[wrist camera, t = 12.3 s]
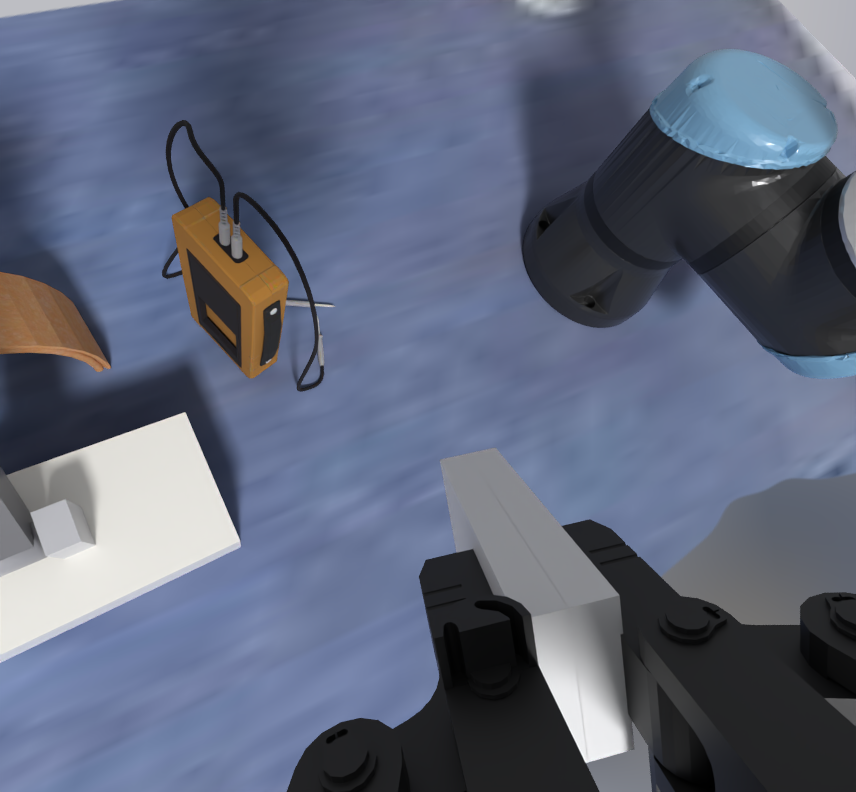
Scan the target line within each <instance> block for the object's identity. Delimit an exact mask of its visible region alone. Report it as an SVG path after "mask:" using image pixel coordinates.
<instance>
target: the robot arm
mask: <svg viewBox="0 0 856 792" xmlns="http://www.w3.org/2000/svg"><path fill="white" fill-rule="evenodd" d="M826 105H827V102H826V100H825V99H824V98H823V97H822V96H821V95H820V93H819V92H818V91H817V90H816V89H815V88H814V87H813V86H812V85H811V84H810V83H808V82H807V81H806V80H805V79H804V78H802V77H801V76H800V75H798V74H797V73H795V72H794V71H792V70H791V69H789V68H788V67H786V66H784V65H783V64H781V63H779V62H777V61H775V60H773V59H771V58H768V57H766V56H763V55H761V54H757V53H753V52H749V51H745V50H739V49H721V50H716V51H712V52H709V53H706V54H704V55H702V56H700V57H699V58H697V59H696V60H694V61H693V62H692V63H691V64H689V65H688V66H687V68H686V69H685V70H684V71H683V72H682V73H681V74H680V75H679V76H678V77H677V78H676V79H675V80H674V81H673V82H672V83H671V84H670V85H669V86H668V88H667V89H666V90H664V91H662V92H661V93H659V94H658V95H657V96H656V97H655V99H654V100H653V101H652V104H651V106H650V108H649V109H648V111H647V112H646V113H645V114H644V115H643V116H642V118H641V119H640V120H639V121H638V122H637V124H636V125H635V126H634V127H633V128H632V129H631V131H630V132H629V133H628V134H627V135H626V137H625V138H624V139H623V140H622V141H621V143H620V144H619V145H618V146H617V147H616V148H615V150H614V151H613V152H612V153H611V154H610V156H609V157H608V158H607V159H606V160H605V161H604V162H603V164H602V165H601V166H600V167H599V168H598V170H597V171H596V172H595V173H594V174H593V175H592V177H591V178H590V179H589V180H588V181H586V182H585V183H583V184H581V185H579V186H578V187H576V188H574V189H573V190H571V191H569V192H567V193H566V194H564V195H562V196H560V197H559V198H557V199H555V200H553V201H552V202H550V203H549V204H547V205H546V206H545V207H544V208H543V209H542V210H541V211H540V212H539V214H538V215H537V216H536V217H535V219H534V220H533V221H532V222H531V224H530V225H529V227H528V229H527V231H526V234H525V237H524V243H523V254H524V261H525V265H526V268H527V271H528V274H529V276H530V278H531V280H532V282H533V284H534V285H535V287H536V289H537V290H538V292H539V293H540V294H541V295H542V297H543V298H544V299H545V300H546V301H547V302H548V303H549V304H550V305H551V306H552V307H553V308H554V309H555V310H557V311H558V312H559V313H561V314H562V315H564V316H565V317H567V318H569V319H571V320H573V321H575V322H577V323H580V324H583V325H586V326H590V327H597V328H606V327H612V326H616V325H619V324H621V323H623V322H624V321H626V320H627V319H629V318H630V317H632V316H633V315H635V314H636V313H637V312H639V311H640V310H641V309H642V308H643V307H644V306H645V305H646V304H647V302H648V301H649V299H650V298H651V296H652V295H653V293H654V292H655V290H656V289H657V287H658V286H659V284H660V283H661V281H662V280H663V278H664V277H665V275H666V274H667V272H668V271H669V269H670V267H672V266H673V265H674V264H676V263H677V262H678V261H679V260H681V259H682V258H683V259H684V260H685V261H686V262H687V263H688V264H689V265H690V266H691V267H692V268H693V269H694V270H695V271H696V272H697V274H699V276H700V277H701V278H702V279H703V280H704V281H705V282H706V283H707V284H708V286H709V287H710V288H711V289H712V290H713V291H714V292H715V293H716V295H717V296H718V297H719V298H720V299H721V300H722V301H723V302H724V304H725V305H726V306H727V307H728V308H729V309H730V310H731V311H732V312H733V314H734V315H735V316H736V317H737V318H738V319H739V320H740V321H741V323H742V324H743V325H744V326H745V327H746V328H747V329H748V330H749V332H750V333H751V334H752V335H753V336H754V337H755V338H756V339H757V342H758V343H759V344H760V345H761V346H762V347H763V348H764V349H765V350H766V351H767V352H769V353H771V354H773V355H774V356H775V357H776V358H777V359H778V360H779V361H780V362H781V363H782V364H783V365H784V366H785V367H787V368H788V369H789V370H791V371H792V372H794V373H796V374H799V375H802V376H805V377H809V378H817V379H831V378H842V377H848V376H854V375H856V171H855V172H853V173H852V174H850V175H848V176H847V177H846V176H845V175H843V173H842V172H841V171H840V170H839V169H838V168H837V167H836V166H835V165H834V164H833V163H832V162H831V161H830V160H829V159H828V158H827V157H826V156H825V155H826V154H827V153H828V152H829V151H830V149H831V146H832V145H833V143H834V142H835V140H836V137H837V132H838V128H837V122H836V119H835V116H834V114H833V112H831V111H830V110H829V109H827V108H826ZM440 463H441V469H442V474H443V480H444V485H445V491H446V496H447V502H448V507H449V513H450V519H451V524H452V530H453V535H454V541H455V546H456V552H457V553H453V554H449V555H445V556H441V557H436V558H432V559H428V560H426V561H425V563H424V566H423V568H422V571H421V573H420V575H419V579H420V584H421V589H422V594H423V599H424V604H425V609H426V613H427V618H428V623H429V628H430V633H431V638H432V643H433V647H434V652H435V657H436V661H437V666H438V670H439V681H438V685H437V689H436V691H435V693H434V694H433V696H432V698H431V700H430V701H429V702H428V703H427V704H426V705H425V706H424V708H423V709H422V710H421V711H420V712H418V713H417V714H416V715H414V716H413V717H411V718H410V719H409V720H407V721H405V722H404V723H402V724H400V725H399V726H397V727H395V728H394V729H392V728H390V727H388V726H387V725H385V724H383V723H382V722H380V721H379V720H372V719H364V718H358V719H354V720H349V721H345V722H341V723H339V724H337V725H335V726H333V727H332V728H330V729H328V730H326V731H325V732H323V733H321V734H320V735H319V736H318V737H317V738H316V739H315V740H314V741H313V742H312V743H311V744H310V745H309V746H308V747H307V748H306V750H305V751H304V753H303V755H302V757H301V759H300V760H299V762H298V764H297V766H296V768H295V770H294V773H293V776H292V779H291V781H290V784H289V787H288V790H287V792H599V790H598V788H597V786H596V783H595V781H594V779H593V777H592V775H591V773H590V771H589V769H588V767H587V765H586V763H587V762H591V761H594V760H598V759H601V758H605V757H608V756H612V755H615V754H619V753H622V752H626V751H630V750H633V749H634V741H633V731H632V721H633V722H634V724H635V726H636V727H637V729H638V731H639V732H640V734H641V735H642V737H643V738H644V740H645V742H646V743H647V745H648V750H649V762H650V773H651V783H652V792H856V594H851V593H822V594H819V595H816V596H813V597H809V598H808V599H807V600H806V601H805V602H804V603H803V604H802V605H801V606H800V625H745V624H741V623H739V622H738V621H737V620H736V619H735V618H734V617H733V616H732V615H730V614H729V613H727V612H726V611H724V610H723V609H721V608H720V607H718V606H717V605H714V604H712V603H709V602H706V601H703V600H701V599H698V598H690V597H682V596H680V595H679V594H678V593H677V592H675V590H673V589H672V588H671V587H670V586H669V585H668V584H667V583H666V582H665V581H664V580H663V579H662V578H661V577H660V576H659V575H658V574H657V573H656V572H655V571H654V570H653V569H652V568H651V567H650V566H649V565H648V564H647V563H646V562H645V561H644V560H643V559H642V558H641V557H638V556H637V554H636V553H635V552H634V551H633V550H632V549H631V548H630V547H629V546H628V545H626V544H625V542H624V541H623V540H622V539H621V538H620V537H619V536H618V535H617V534H616V533H615V532H614V531H613V530H612V529H610V528H608V527H606V526H603V525H601V524H599V523H597V522H594V521H592V520H585V521H581V522H577V523H573V524H568V525H564V526H561V525H560V524H559V523H558V522H557V520H556V519H555V518H554V517H553V516H552V514H551V513H550V512H549V511H548V510H547V508H546V507H545V506H544V505H543V504H542V503H541V501H540V500H539V499H538V498H537V497H536V495H535V494H534V493H533V492H532V491H531V489H530V488H529V487H528V486H527V485H526V483H525V482H524V481H523V480H522V479H521V478H520V476H519V475H518V474H517V473H516V472H515V470H514V469H513V468H512V467H511V466H510V464H509V463H508V462H507V461H506V460H505V458H504V457H503V456H502V455H501V454H500V453H499V451H498V450H497V449H496V448H491V449H487V450H482V451H478V452H473V453H468V454H464V455H459V456H455V457H450V458H445V459H441V460H440ZM631 719H632V720H631Z"/></svg>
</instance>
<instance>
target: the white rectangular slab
mask: <svg viewBox="0 0 856 792" xmlns="http://www.w3.org/2000/svg"><path fill="white" fill-rule="evenodd" d="M6 476H7V477H8V479H9V480H10V482H11V484H12V485H13V487H14V488H15V490H16V491H17V493H18V494H19V496H20V497H21V499H22V500H23V502H24V504H25V505H26V507H27V508H28V510H29V511H30V514H31V517H32V519H33V522H34V525H35V528H36V531H37V533H38V536H39V539H40V542H41V545H42V547H43V550H44V553H45V556H48V557H47V558H44V559H42V560H40V561H37V562H35V563H33V564H30V565H28V566H25V567H23V568H21V569H18V570H16V571H14V572H11V573H9V574H6V575H4V576H2V577H0V663H1V662H3V661H5V660H7V659H9V658H11V657H13V656H15V655H17V654H20V653H22V652H24V651H26V650H28V649H30V648H32V647H34V646H36V645H38V644H40V643H42V642H45V641H47V640H49V639H51V638H53V637H55V636H57V635H59V634H61V633H63V632H65V631H67V630H69V629H72V628H74V627H76V626H78V625H80V624H82V623H84V622H86V621H88V620H90V619H92V618H94V617H96V616H99V615H101V614H103V613H105V612H107V611H109V610H111V609H113V608H115V607H117V606H119V605H121V604H124V603H126V602H128V601H130V600H132V599H134V598H136V597H138V596H140V595H142V594H144V593H146V592H148V591H151V590H153V589H155V588H157V587H159V586H161V585H163V584H165V583H167V582H169V581H171V580H173V579H175V578H178V577H180V576H182V575H184V574H186V573H188V572H190V571H192V570H194V569H196V568H198V567H200V566H203V565H205V564H207V563H209V562H211V561H213V560H215V559H217V558H219V557H221V556H223V555H225V554H227V553H230V552H232V551H234V550H236V549H238V548H240V547H241V544H240V539H239V537H238V535H237V532H236V530H235V528H234V525H233V523H232V520H231V518H230V516H229V513H228V511H227V509H226V506H225V504H224V502H223V499H222V497H221V495H220V492H219V490H218V488H217V485H216V483H215V481H214V478H213V476H212V474H211V471H210V469H209V466H208V464H207V462H206V459H205V457H204V455H203V452H202V450H201V448H200V445H199V443H198V441H197V438H196V436H195V434H194V431H193V429H192V427H191V424H190V422H189V419H188V417H187V415H186V412H184V413H181V414H178V415H176V416H173V417H170V418H167V419H164V420H161V421H158V422H156V423H153V424H150V425H147V426H144V427H141V428H139V429H136V430H133V431H130V432H127V433H124V434H122V435H119V436H116V437H113V438H110V439H107V440H105V441H102V442H99V443H96V444H93V445H90V446H88V447H85V448H82V449H79V450H76V451H73V452H71V453H68V454H65V455H62V456H59V457H56V458H54V459H51V460H48V461H45V462H42V463H39V464H37V465H34V466H31V467H28V468H25V469H22V470H20V471H17V472H14V473H11V474H8V475H6Z"/></svg>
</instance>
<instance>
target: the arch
mask: <svg viewBox="0 0 856 792" xmlns="http://www.w3.org/2000/svg"><path fill="white" fill-rule="evenodd" d="M11 353H46V354H57V355H62V356H68V357H73V358H75V359H78V360H81V361H84V362H86V363H87V364H89V365H90V366H92V367H93V368H94V369H95V371H97V372H101V371H102V370H103V367H105V368H107V369H110V368H111V367H110V365H109V363H108V361H107V360H106V358H105V356H104V355H103V353H102V351H101V349H100V348H99V346H98V344H97V343H96V341H95V339H94V337H93V336H92V334H91V332H90V331H89V329H88V327H87V325H86V324H85V322H84V320H83V319H82V317H81V315H80V314H79V312H78V310H77V308H76V307H75V305H74V303H73V302H72V301H71V300H70V299H69V298H67V297H66V296H65V295H64V294H63V293H62V292H60V291H58V290H56V289H54V288H52V287H51V286H49V285H47V284H45V283H42V282H39V281H36V280H33V279H30V278H27V277H24V276H19V275H14V274H9V273H3V272H0V354H11Z"/></svg>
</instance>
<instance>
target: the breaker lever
mask: <svg viewBox="0 0 856 792" xmlns="http://www.w3.org/2000/svg"><path fill="white" fill-rule="evenodd" d="M47 557H48V556H45V553H44V550H43V547H42V545H41V542H40V539H39V536H38V533H37V531H36V528H35V525H34V522H33V519H32V517H31V514H30V511H29V510H28V508H27V507H26V505H25V504H24V502H23V500H22V499H21V497H20V496H19V494H18V493H17V491H16V490H15V488H14V487H13V485H12V484H11V482H10V480H9V479H8V477H7V476H6V474H5V473H4V471H3V470H2V468H1V467H0V577H2V576H4V575H6V574H9V573H11V572H14V571H16V570H18V569H21V568H23V567H25V566H28V565H30V564H33V563H35V562H37V561H40V560H42V559H44V558H47Z"/></svg>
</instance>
